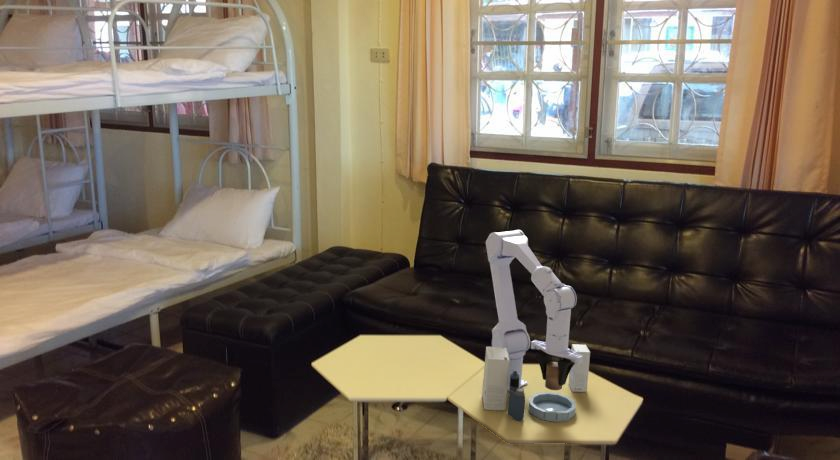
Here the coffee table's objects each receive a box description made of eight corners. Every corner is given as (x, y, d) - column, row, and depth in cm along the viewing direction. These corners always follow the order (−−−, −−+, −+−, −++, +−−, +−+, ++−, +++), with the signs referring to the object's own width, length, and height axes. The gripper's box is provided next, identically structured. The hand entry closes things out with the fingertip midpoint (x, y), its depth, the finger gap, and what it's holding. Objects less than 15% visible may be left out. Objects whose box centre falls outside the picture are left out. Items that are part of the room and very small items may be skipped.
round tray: (519, 410, 188) (520, 401, 187) (545, 396, 196) (546, 388, 196) (558, 426, 180) (559, 418, 179) (583, 411, 188) (584, 403, 188)
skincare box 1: (481, 396, 195) (484, 345, 192) (503, 397, 195) (506, 346, 192) (484, 410, 187) (486, 357, 184) (507, 411, 187) (510, 358, 184)
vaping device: (513, 411, 187) (516, 369, 184) (525, 420, 183) (528, 377, 180) (505, 413, 186) (508, 370, 183) (517, 422, 181) (519, 378, 179)
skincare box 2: (587, 392, 200) (590, 352, 197) (571, 392, 200) (575, 352, 197) (582, 383, 205) (586, 344, 203) (568, 382, 206) (571, 343, 203)
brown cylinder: (541, 386, 187) (543, 364, 185) (551, 381, 190) (553, 360, 188) (555, 391, 184) (557, 370, 182) (565, 386, 187) (567, 365, 185)
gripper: (590, 336, 181) (586, 385, 184) (543, 321, 191) (539, 368, 194) (575, 343, 176) (571, 394, 179) (527, 327, 186) (524, 376, 189)
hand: (553, 381), depth 186 cm, fingers closed on brown cylinder, 4 cm apart
